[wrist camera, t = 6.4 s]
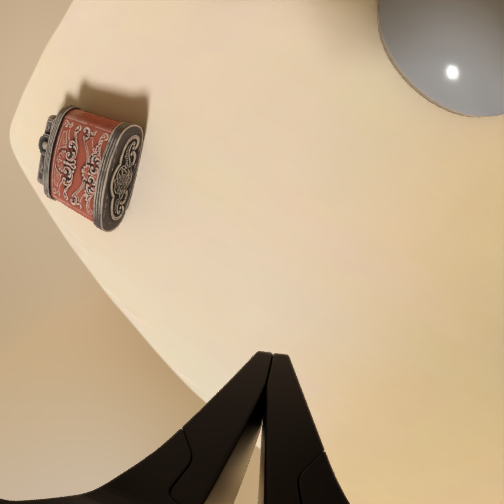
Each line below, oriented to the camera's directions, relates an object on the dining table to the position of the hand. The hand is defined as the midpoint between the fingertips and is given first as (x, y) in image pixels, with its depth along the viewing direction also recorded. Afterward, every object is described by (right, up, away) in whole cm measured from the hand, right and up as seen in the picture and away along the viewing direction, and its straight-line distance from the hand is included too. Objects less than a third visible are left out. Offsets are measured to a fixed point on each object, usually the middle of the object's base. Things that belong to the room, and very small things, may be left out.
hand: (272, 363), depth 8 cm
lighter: (-9, +8, +12) cm, 17 cm away
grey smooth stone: (+11, +15, +4) cm, 19 cm away
